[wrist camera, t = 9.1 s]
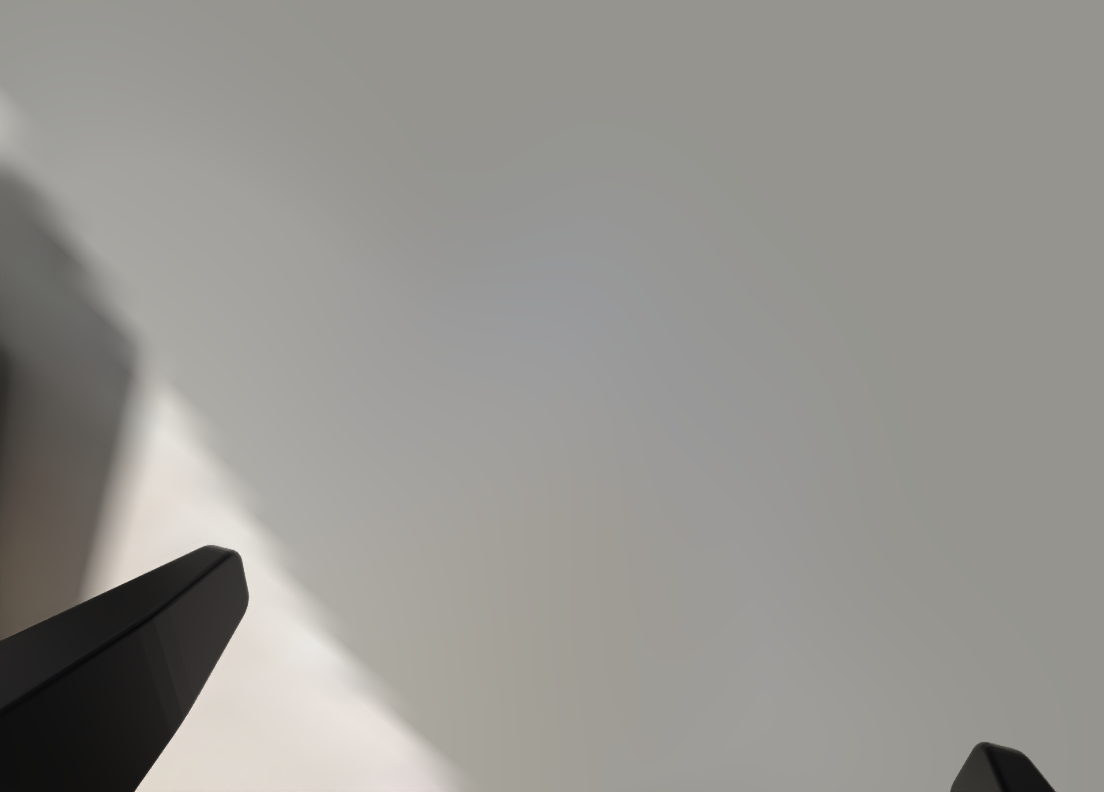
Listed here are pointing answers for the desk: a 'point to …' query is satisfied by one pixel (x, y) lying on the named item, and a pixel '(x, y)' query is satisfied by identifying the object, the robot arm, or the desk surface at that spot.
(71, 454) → the desk surface
